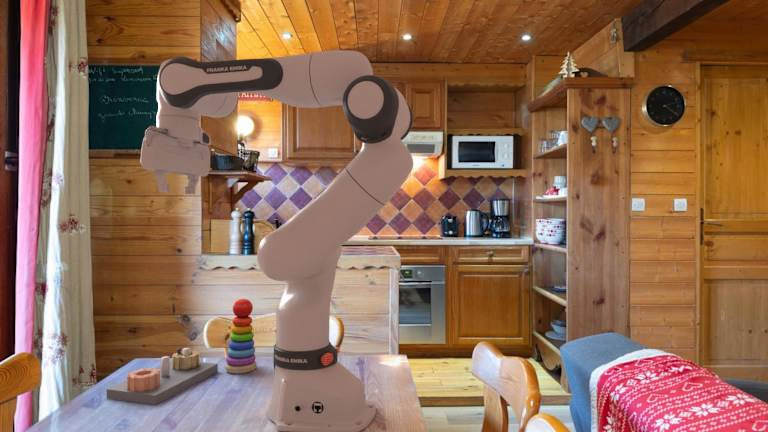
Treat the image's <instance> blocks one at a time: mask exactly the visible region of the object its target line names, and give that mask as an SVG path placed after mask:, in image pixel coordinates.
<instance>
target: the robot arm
mask: <svg viewBox="0 0 768 432" xmlns="http://www.w3.org/2000/svg"><path fill="white" fill-rule="evenodd" d="M239 94H253V95H258V96H262V97H265V98H267V99H272V100H273V101H274V100H275V101H278V102H279V103H282V104H284V105H288V106H290V107H293V108H303V109H319V108H327V107H328V108H329V107H335V106H336V107H337V106H342V109H343V113H344V116H345V119H346V120H347V122H348V124H349V126H350V127H351V129H352V131H353V134H354V135H355V137H356V140H357V141H359V142H361V148H360V150H359V151H358V152H357V154H356V156H355V157H354V158H353V159H352V160H351V161H350V162H349V163H348V164H347V165H346V166H345V167H344V169H343V170H341V172H339V173H338V175H337V176H336V177H335V178H334V179H333V180H332V181H331V182H330V183H329V185H328V186H327V187H325V189H323V191H321V193H320V194H319V195H318V196H316V197H314V199H313V200H311V201H310V202H309V203H308V204H306V205H305V206H303V208H301V209H299V211H297V212H296V213H295V214H293V215H292V216H291V217H290V218H289V219H288V220H287V221H285V222H284V223H283V224H282V225H280V226H279V227H278V228H276V229H274V230H273V231H272V232H270V233H269V234H266V235H265V236H264V237H263V238H262V239H261V241H260V243H259V244H258V247H257V252H256V254H257V255H256V258H257V259H256V260H257V263H258V264H257V265H258V266H259V268H260V270H261V272H262V273H263V274H264V275H265V276H266V277H268V278H269V279H271V280H274V281H277V282H283V283H284V288H283V291H282V294H281V296H280V299H279V301H278V303H277V304H276V310H275V344H274V345H273V361H272V362H273V369H274V376H273V377H274V378H273V385H272V393H271V398H270V403H269V407H268V409H267V412H266V415H267V417H268V419H269V420H270V421H272V422H273V423H274V424H275V428H276V430H277V431H279V432H360V431H362V430H364V429H365V428H367V427H368V426H369V425H370V424H371V423H372V422H373V420H374V418H375V417H376V415H377V406H376V404H375V402H374V401H372V400H368V399H366V393H365V387H364V384H363V381H362V380H361V379H360V378H359V377H357V375H355V374H354V373H352V372H351V371H350V370H349V369H348V368H347V367H345V366H344V365H343V364H342V363H340V362H339V361H338V359H339V356H338V354H339V353H340V352H341V350H340V349H341V346H340V345H338V347H335V346H334V345H333V344H332V342H330V316H331V315H330V313H331V312H330V311H331V309H330V308H331V300H332V296H333V295H332V294H333V289H334V283H335V277H336V274H337V273H336V272H337V266H338V263H339V260H340V258H341V255H342V252H343V251H342V249H343V248H342V246H343V245H344V244H346V242H348V241H349V240H350V239H352V238H353V237H354V236H355V235H357V234H358V233H359V232H360V231H362V230H363V228H365V226H367V224H368V223H369V222H371V220H372V219H373V218H374V217H375V216H376V215H377V214H378V213H379V212H380V211H381V210H382V209H383V208H384V207H385V206H386V205H387V204H388V203H389V202H390V201H391V200H392V198H393V197H394V196H395V195H396V194H397V192H398V191H399V189H401V187H402V186H403V185H404V183H405V182H406V180H407V179H408V177H409V176H410V174H411V173H412V170H413V168H414V159H413V156H412V153H411V151H410V150H409V148H408V147H407V146H406V145H405V144H404V143H403V140H404V139H405V138H406V137H407V136H408V135H409V134H410V132H411V129H412V126H413V113H412V110H411V106H410V105H409V104H408V102H407V101H406V99H405V97H404V95H403V94H402V93H401V91H399V89H397V88H396V87H395V86H394V85H393V84H392V83H391V82H390V81H389V80H388V79H386V78H384V77H382V76H379V75H374V71H373V67H372V65H371V62H370V61H369V59H368V57H367V56H366V55H365V54H364V53H363V52H360V51H357V50H347V49H346V50H333V49H332V50H322V51H320V50H319V51H315V52H307V53H301V54H294V55H287V56H278V57H277V56H276V57H265V58H264V57H263V58H244V59H243V58H242V59H233V60H232V59H230V60H229V59H228V60H219V61H218V60H217V61H198V60H194V59H192V58H189V57H188V56H187V57H186V56H177V57H173V58H169V59H166V60H164V61H163V62H162V63H161V64H160V67H159V70H158V73H157V81H156V101H157V103H158V104H157V105H158V109H157V113H156V125H150V126H149V127H147V129H146V130H145V131H144V137H143V140H142V144H141V151H140V165H141V167H142V169H143V170H147V171H153V173H154V174H153V175H154V179H155V181H156V183H157V186H158V187H157V191H158V192H159V193H164V194H166V193H170V191H171V189H170V188H171V185H170V183H168V181H167V176H168V173H169V174H178V175H183V176H184V175H185V176H187V180H188V182H187V186H184V190H185V191H184V194H185V195H196V187H197V185H198V183H199V179H200V177H207V176H208V175H209V173H210V170H211V150H210V148H209V146H211V144H212V139H211V136H210V135H209V134H208V133H206V131H205V130H204V129H203V128H202V127H201V126H200V118H201V117H202V116H206V117H210V118H213V119H214V118H215V119H223V118H227V117H229V116H230V115H232V114H233V113H234V112H235V110H236V108H237V106H238V103H239Z"/></svg>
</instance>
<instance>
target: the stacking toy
mask: <svg viewBox="0 0 768 432" xmlns="http://www.w3.org/2000/svg"><path fill="white" fill-rule="evenodd" d="M253 309H254V308H253V303H252V302H251V300H249V299H248V298H240V299H238V300H236V301H235V302H234V303H233V305H232V312H233V314H234V317H233V318H232V324H233V325H232V326H231V327H230V331H231V332H232V333H230V335H229V336H230V337H229V338H230V340H229V342H228V347H229V348H228V350H227V355H226V358H225V362H226V363H225V366H224V369H225V371H226V372H228V373H230V374H236V375H237V374H238V375H239V374H245V373H246V374H247V373H250V372H253V371H254V370H256V368H257V367H258V366H257V364H258V363H257V361H256V354H255V353H256V347H255V340H254V332H253V325H252V323H253V317H251V316H250V315H251V314H252V312H253Z"/></svg>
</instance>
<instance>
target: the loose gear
mask: <svg viewBox="0 0 768 432" xmlns="http://www.w3.org/2000/svg"><path fill="white" fill-rule="evenodd" d="M156 368H157V367H152V368H148V367H146V368H142V369H136V370H135V369H134V370H133V371H132V372H131V371H130V372H128V373H127V375H126V381H127V390H130V391H132V392H134V391H139V392H141V391H144V390H151V389H154V387H158V386H159V384H160V370H159V369H158V370H156Z"/></svg>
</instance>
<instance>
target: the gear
mask: <svg viewBox="0 0 768 432" xmlns="http://www.w3.org/2000/svg"><path fill="white" fill-rule="evenodd" d="M171 361H172V368H173V369H174V368H175V369H176V370H180V369H183V370H187V369H190V368H196V366H199V365H200V362H201V351H200V350H194V349H192V350H190V355H188V356H183V350H182V348H181V347H178V348H176V353H173V354H172V356H171Z"/></svg>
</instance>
